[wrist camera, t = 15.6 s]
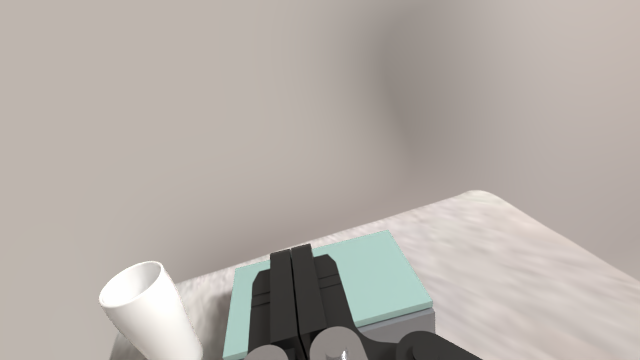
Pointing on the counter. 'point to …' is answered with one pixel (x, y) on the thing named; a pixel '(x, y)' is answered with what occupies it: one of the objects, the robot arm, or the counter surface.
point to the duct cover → (358, 282)
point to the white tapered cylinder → (151, 313)
